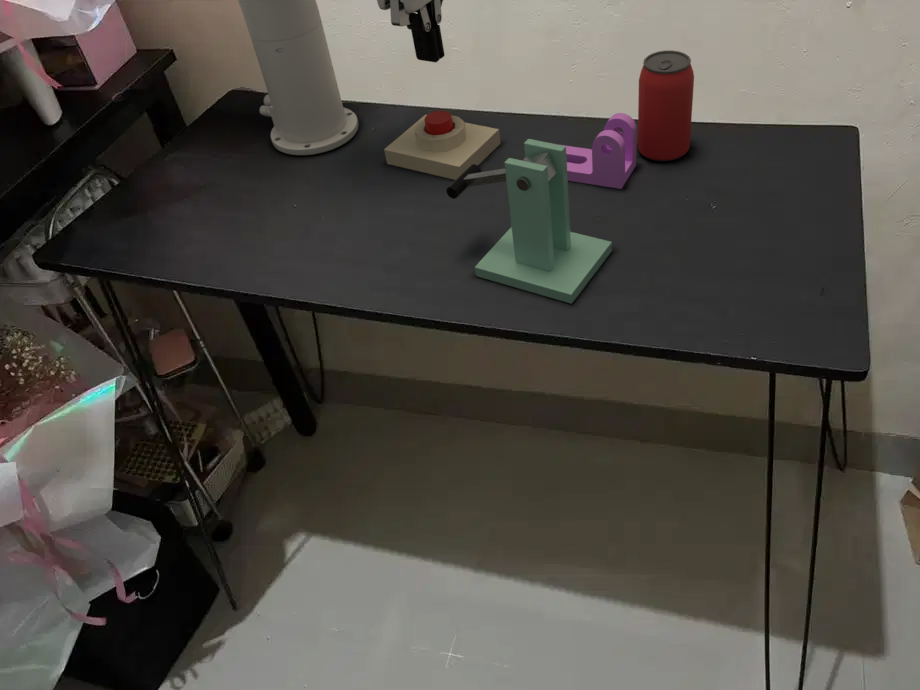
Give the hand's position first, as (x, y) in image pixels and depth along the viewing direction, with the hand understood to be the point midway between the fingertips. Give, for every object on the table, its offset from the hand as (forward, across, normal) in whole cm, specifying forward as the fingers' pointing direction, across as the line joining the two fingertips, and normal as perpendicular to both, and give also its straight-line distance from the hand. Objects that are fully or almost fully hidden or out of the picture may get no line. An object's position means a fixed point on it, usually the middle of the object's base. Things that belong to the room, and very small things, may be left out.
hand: (430, 58), depth 103 cm
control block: (+13, 0, -1) cm, 13 cm away
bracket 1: (+14, +16, +23) cm, 32 cm away
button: (+10, 0, -1) cm, 10 cm away
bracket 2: (+14, -3, +18) cm, 23 cm away
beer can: (+14, -11, +26) cm, 32 cm away
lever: (+4, +16, +20) cm, 26 cm away
